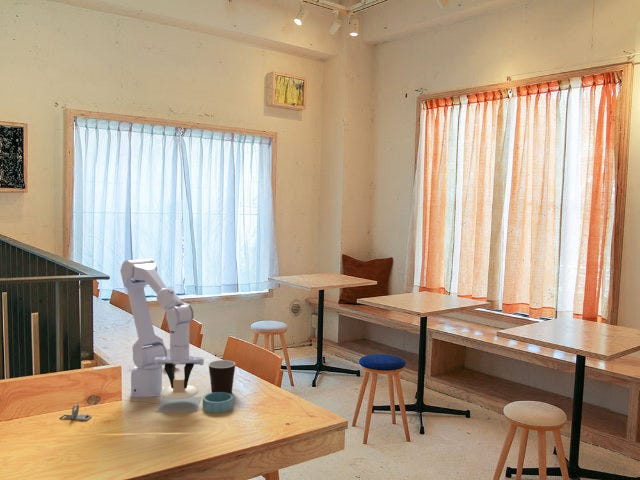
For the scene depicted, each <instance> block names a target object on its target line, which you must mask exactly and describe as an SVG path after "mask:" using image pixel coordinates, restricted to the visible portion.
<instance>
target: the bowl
mask: <svg viewBox="0 0 640 480" xmlns="http://www.w3.org/2000/svg"><path fill="white" fill-rule="evenodd" d="M233 409H234V395H233V394H232V393H231V394H230V393H226V392H213V393H212V392H209V393H206V394H205V395H203V397H202V410H203V411H204V412H206V413H209V414H222V413H227V412H229V411H231V410H233Z"/></svg>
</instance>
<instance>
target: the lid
mask: <svg viewBox="0 0 640 480" xmlns="http://www.w3.org/2000/svg"><path fill="white" fill-rule="evenodd" d="M184 380H185V375H184V376H175V378H174V379H173V388H171V385H170V386H167V387H165V388H164V389H162V390H161V396H160V397H162V398H163V397H164V398H168V399H185V398H189V397H195V396H196V395H197V394H198V393H199V391H198V388H197V387H196V386H193V385H190V384H189V385H187V388H184Z"/></svg>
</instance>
